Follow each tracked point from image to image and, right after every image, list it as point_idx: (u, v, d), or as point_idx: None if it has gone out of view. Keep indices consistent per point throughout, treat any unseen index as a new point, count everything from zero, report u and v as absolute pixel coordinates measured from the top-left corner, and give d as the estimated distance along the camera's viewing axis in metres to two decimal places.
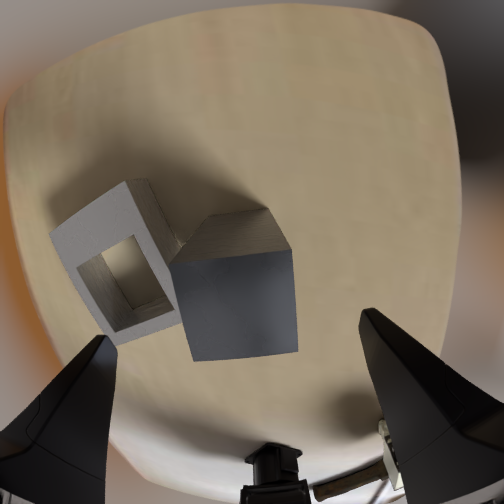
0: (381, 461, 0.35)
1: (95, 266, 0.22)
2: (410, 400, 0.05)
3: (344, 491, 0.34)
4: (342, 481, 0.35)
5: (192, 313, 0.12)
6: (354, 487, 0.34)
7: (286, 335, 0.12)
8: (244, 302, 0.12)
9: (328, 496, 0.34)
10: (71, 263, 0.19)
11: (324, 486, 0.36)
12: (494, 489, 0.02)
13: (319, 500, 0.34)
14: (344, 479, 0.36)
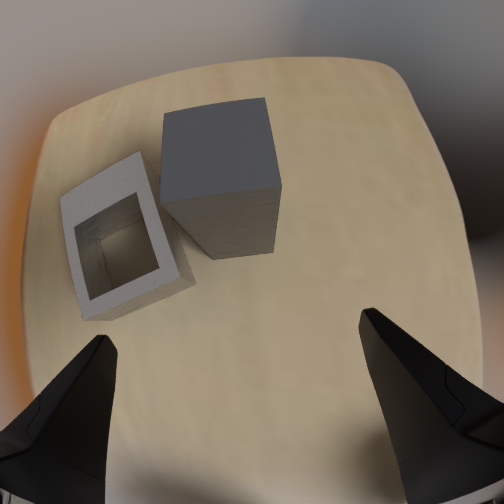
0: None
1: (92, 244, 0.22)
2: (410, 400, 0.05)
3: None
4: None
5: (173, 148, 0.11)
6: None
7: (265, 165, 0.11)
8: (222, 134, 0.11)
9: None
10: (71, 223, 0.20)
11: None
12: (494, 489, 0.02)
13: None
14: None
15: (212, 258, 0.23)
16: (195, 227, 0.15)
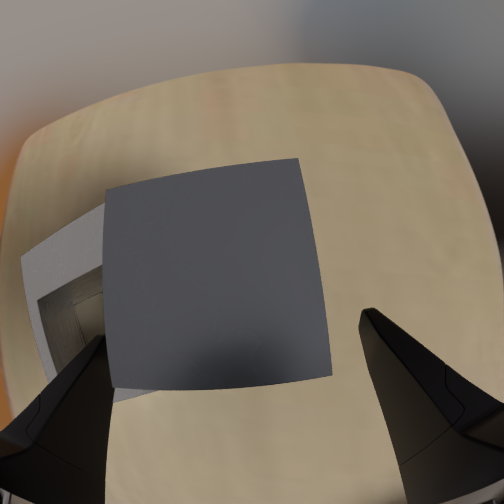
0: None
1: (62, 314, 0.16)
2: (410, 400, 0.05)
3: None
4: None
5: (121, 275, 0.06)
6: None
7: (304, 332, 0.05)
8: (214, 252, 0.06)
9: None
10: (33, 294, 0.14)
11: None
12: (494, 489, 0.02)
13: None
14: None
15: None
16: None
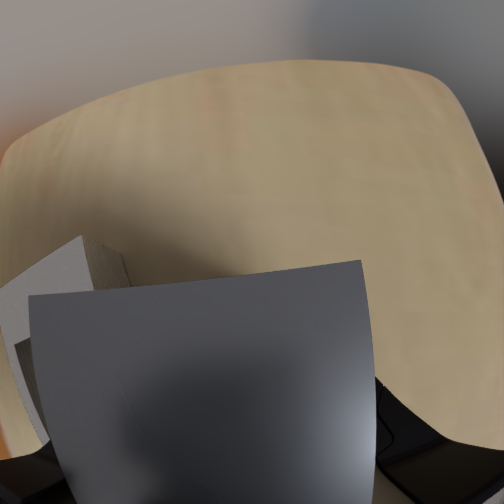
0: None
1: None
2: None
3: None
4: None
5: (71, 438, 0.03)
6: None
7: None
8: (205, 442, 0.03)
9: None
10: (10, 337, 0.11)
11: None
12: None
13: None
14: None
15: None
16: None
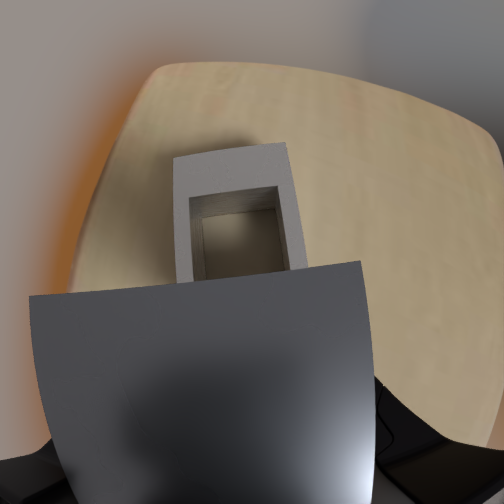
0: None
1: (197, 220, 0.22)
2: None
3: None
4: None
5: (72, 438, 0.03)
6: None
7: None
8: (206, 441, 0.03)
9: None
10: (185, 192, 0.20)
11: None
12: None
13: None
14: None
15: None
16: None
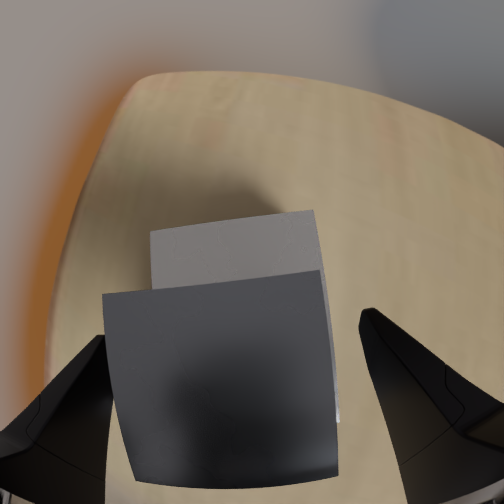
0: None
1: None
2: (410, 400, 0.05)
3: None
4: None
5: (132, 392, 0.05)
6: None
7: (315, 447, 0.05)
8: (228, 380, 0.05)
9: None
10: None
11: None
12: (494, 489, 0.02)
13: None
14: None
15: None
16: None
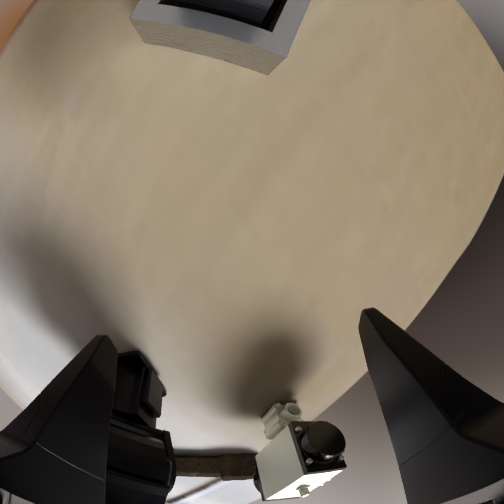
0: (228, 455, 0.32)
1: None
2: (410, 400, 0.05)
3: None
4: None
5: None
6: (186, 474, 0.29)
7: None
8: None
9: None
10: None
11: None
12: (494, 489, 0.02)
13: None
14: (176, 458, 0.30)
15: None
16: None
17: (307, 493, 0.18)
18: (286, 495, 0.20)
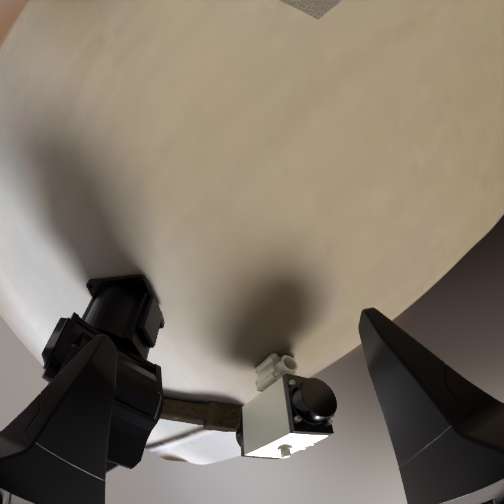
0: (214, 403, 0.35)
1: None
2: (410, 400, 0.05)
3: None
4: None
5: None
6: (168, 417, 0.33)
7: None
8: None
9: None
10: None
11: None
12: (494, 489, 0.02)
13: None
14: None
15: None
16: None
17: (288, 454, 0.21)
18: (266, 454, 0.23)
